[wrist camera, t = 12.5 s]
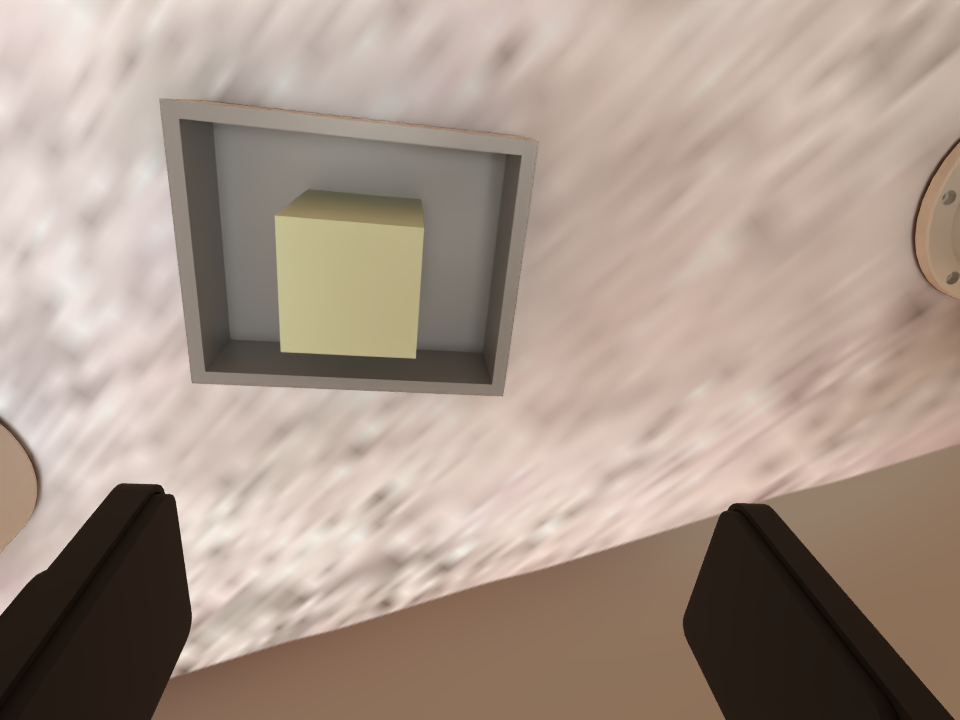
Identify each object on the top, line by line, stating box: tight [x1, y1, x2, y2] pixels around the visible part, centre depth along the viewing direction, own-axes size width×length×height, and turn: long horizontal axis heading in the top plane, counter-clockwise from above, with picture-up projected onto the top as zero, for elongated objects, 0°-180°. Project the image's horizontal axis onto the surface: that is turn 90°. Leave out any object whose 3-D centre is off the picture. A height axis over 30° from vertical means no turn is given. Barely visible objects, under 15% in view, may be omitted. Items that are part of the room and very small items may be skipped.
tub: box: [159, 99, 539, 396], centre depth 29 cm, size 16×13×5 cm
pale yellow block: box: [275, 189, 424, 359], centre depth 28 cm, size 6×6×8 cm
